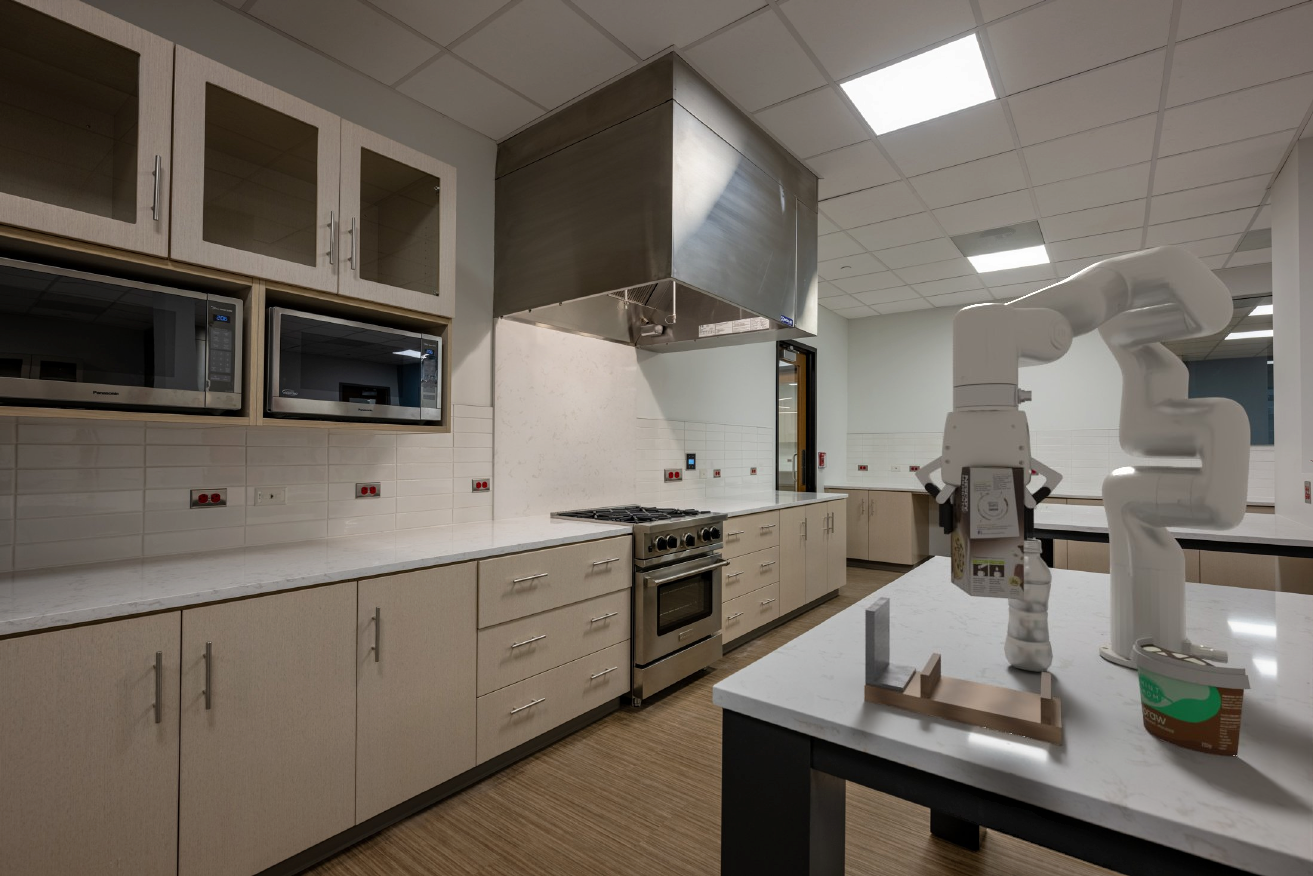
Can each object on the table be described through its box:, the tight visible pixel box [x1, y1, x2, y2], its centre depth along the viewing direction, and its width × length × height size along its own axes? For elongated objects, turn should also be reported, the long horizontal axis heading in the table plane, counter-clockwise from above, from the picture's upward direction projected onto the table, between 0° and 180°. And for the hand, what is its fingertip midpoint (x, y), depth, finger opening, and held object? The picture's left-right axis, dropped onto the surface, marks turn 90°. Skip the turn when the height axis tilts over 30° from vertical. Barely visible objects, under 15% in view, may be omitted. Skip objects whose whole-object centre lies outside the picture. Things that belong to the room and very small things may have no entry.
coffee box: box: [950, 466, 1024, 600], centre depth 78 cm, size 9×6×16 cm
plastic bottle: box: [1003, 538, 1054, 672], centre depth 94 cm, size 6×7×20 cm
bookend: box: [864, 596, 917, 692], centre depth 84 cm, size 5×9×10 cm, turn 147°
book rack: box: [863, 652, 1063, 746], centre depth 79 cm, size 22×10×5 cm, turn 57°
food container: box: [1130, 637, 1251, 757], centre depth 72 cm, size 12×6×10 cm, turn 5°
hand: (985, 535), depth 78 cm, fingers closed on coffee box, 8 cm apart
